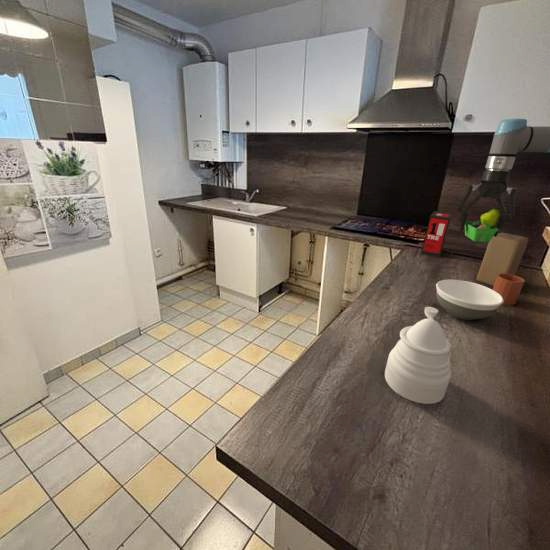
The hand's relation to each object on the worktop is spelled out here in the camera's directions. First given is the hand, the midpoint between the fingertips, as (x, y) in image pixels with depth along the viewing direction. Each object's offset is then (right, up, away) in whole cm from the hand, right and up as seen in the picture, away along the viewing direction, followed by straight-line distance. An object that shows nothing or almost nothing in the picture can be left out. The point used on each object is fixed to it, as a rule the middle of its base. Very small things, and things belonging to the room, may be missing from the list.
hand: (477, 233), depth 108 cm
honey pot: (-44, -40, -41) cm, 73 cm away
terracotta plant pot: (+8, -25, -1) cm, 26 cm away
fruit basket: (+1, -2, +1) cm, 2 cm away
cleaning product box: (+10, -3, +50) cm, 51 cm away
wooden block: (+16, -19, +13) cm, 28 cm away
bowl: (-14, -29, -11) cm, 34 cm away
